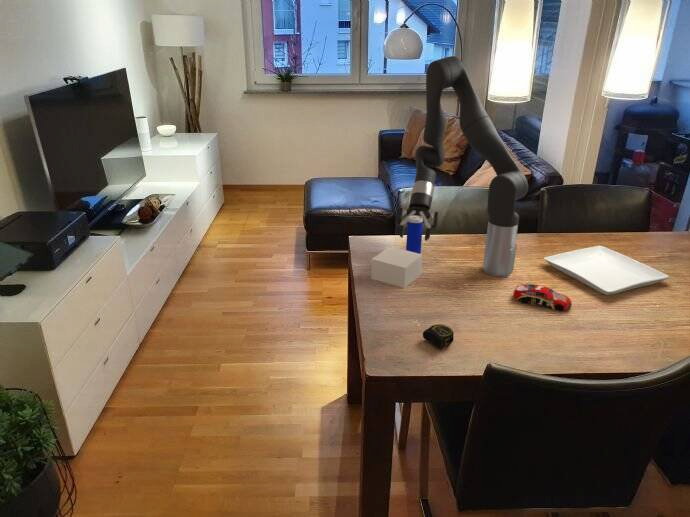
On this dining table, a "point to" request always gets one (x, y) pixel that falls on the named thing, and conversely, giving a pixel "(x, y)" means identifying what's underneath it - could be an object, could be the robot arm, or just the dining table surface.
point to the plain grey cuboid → (396, 267)
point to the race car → (541, 297)
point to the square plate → (605, 269)
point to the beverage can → (414, 234)
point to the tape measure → (439, 335)
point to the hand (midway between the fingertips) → (413, 238)
